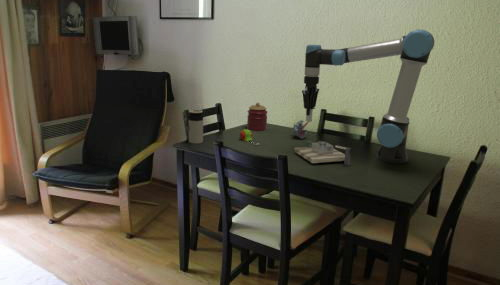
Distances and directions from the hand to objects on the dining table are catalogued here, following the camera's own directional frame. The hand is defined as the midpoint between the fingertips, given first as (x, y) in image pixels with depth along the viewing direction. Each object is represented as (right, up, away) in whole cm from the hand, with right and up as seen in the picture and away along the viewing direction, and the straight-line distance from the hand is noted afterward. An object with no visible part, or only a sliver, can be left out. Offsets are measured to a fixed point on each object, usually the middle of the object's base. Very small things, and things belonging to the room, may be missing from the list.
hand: (308, 121), depth 206 cm
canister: (-26, -3, +51) cm, 58 cm away
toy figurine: (-1, -9, +33) cm, 34 cm away
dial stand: (+14, -22, -14) cm, 29 cm away
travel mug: (-61, -11, +14) cm, 64 cm away
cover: (+6, -16, -7) cm, 18 cm away
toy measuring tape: (-31, -11, +20) cm, 39 cm away
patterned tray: (+4, -17, -4) cm, 18 cm away
